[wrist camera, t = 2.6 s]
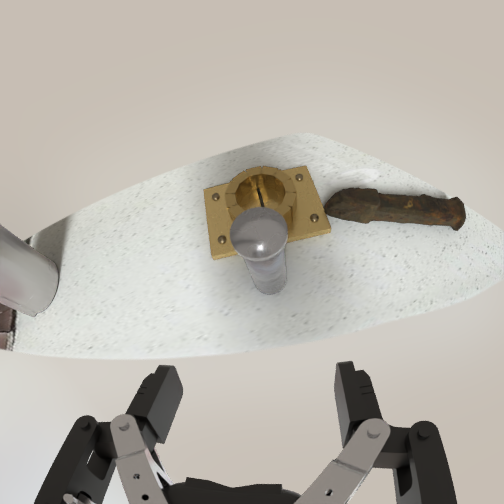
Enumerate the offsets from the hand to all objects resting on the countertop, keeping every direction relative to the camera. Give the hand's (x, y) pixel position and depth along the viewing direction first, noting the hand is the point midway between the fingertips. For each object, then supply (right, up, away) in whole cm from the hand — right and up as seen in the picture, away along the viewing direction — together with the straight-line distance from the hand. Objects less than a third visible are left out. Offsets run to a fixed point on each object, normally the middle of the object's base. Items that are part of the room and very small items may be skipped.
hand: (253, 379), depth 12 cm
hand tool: (+18, +10, +19) cm, 28 cm away
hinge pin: (+2, +3, +18) cm, 18 cm away
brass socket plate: (+1, +11, +22) cm, 25 cm away
